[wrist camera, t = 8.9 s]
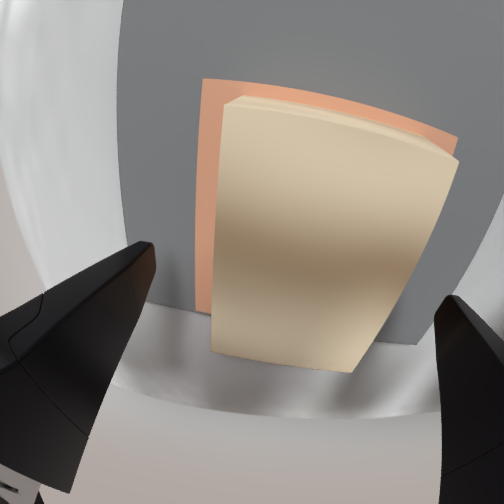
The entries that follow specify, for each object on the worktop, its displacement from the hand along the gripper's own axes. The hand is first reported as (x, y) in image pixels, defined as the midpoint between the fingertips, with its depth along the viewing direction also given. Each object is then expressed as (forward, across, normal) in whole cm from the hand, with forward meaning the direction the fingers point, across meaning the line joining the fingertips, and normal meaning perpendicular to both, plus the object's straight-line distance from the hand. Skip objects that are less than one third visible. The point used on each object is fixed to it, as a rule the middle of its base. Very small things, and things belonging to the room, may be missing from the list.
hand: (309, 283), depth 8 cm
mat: (+3, 0, -4) cm, 5 cm away
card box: (+2, 0, 0) cm, 2 cm away
